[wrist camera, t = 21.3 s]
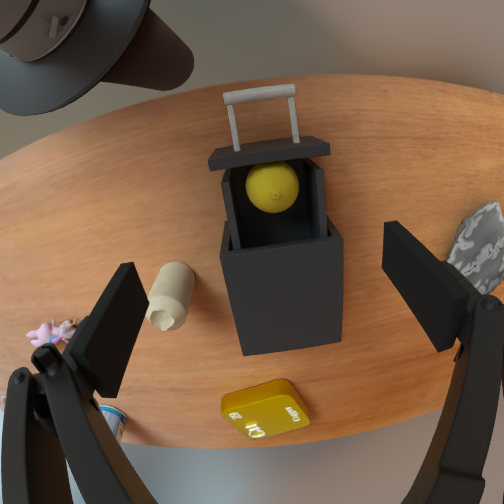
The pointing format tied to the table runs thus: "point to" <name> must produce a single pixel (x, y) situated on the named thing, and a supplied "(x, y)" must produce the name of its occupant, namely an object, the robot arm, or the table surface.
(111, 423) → the beverage bottle
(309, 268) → the cabinet
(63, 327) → the pink horned figurine
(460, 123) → the table surface
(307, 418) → the element tile
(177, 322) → the candle
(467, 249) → the brain slice
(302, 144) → the drawer
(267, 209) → the lemon
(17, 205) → the table surface
